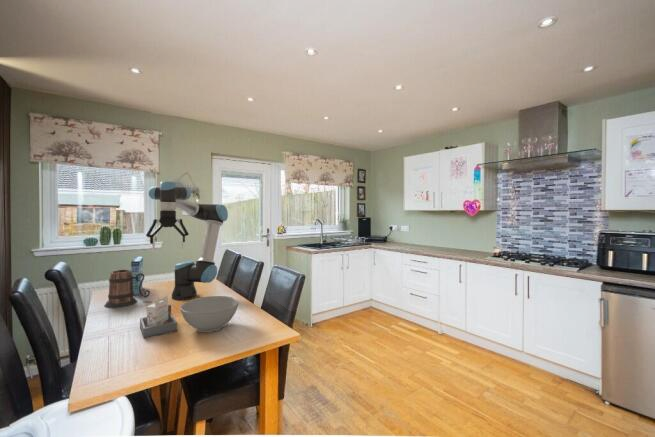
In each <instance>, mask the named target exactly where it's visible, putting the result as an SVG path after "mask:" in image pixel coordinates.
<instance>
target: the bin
mask: <svg viewBox="0 0 655 437" xmlns="http://www.w3.org/2000/svg"><path fill="white" fill-rule="evenodd" d="M139 328H140V332H141V334H142V337H143V339H147V338H148V339H149V338H152V337H157V336H162V335H166V334H167V335H168V334H171V332H172V333H175V331H176V332H177V331H178V321H177V320H176V318H175V316H173V314H172V312H171V313H168V323H167V324H162V325H157V326H152V327H147V316H146V317H140V318H139Z"/></svg>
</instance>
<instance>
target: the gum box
mask: <svg viewBox="0 0 655 437" xmlns="http://www.w3.org/2000/svg"><path fill="white" fill-rule="evenodd" d="M143 257H144V256H135V257H134V258H133V259H132V261H131V265H130V270H131V273H132V276H133V277H136V275H137V274H139V273H142V274H144V272H143V271H144V270H143V269H144V268H143V267H144V264H143V262H144V258H143ZM138 279H139V281H137V280H136V279H133V291H134V295H133V296H137V295H140V293H139V284H140V282H141V280H142V279H143V276H142V275H139V278H138ZM143 284H144V283H143V282H142V284H141V290H143Z"/></svg>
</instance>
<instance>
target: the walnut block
mask: <svg viewBox="0 0 655 437" xmlns="http://www.w3.org/2000/svg"><path fill="white" fill-rule="evenodd" d="M168 313H171V314H172V304H170V303H168Z"/></svg>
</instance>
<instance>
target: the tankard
mask: <svg viewBox="0 0 655 437" xmlns="http://www.w3.org/2000/svg"><path fill="white" fill-rule="evenodd" d="M139 275H142V276H143V279H142V280H141V282H140V284H139V295H140V297H142V298H148V297H149V296H150V294H151V291H150V289H149V290H148V289H146V290H144V291H143V292H144V294H143V293H142V289H141V284H142V282H143V281H144V280H145V274H144V273H143V274H142V273H139V274H137V275H136V277H133V276H132V273H131V269H118V270H113V271H111V272H110V276H109V277H108V282H109V283H108V284H109V286H108V295H107V298H108V299H107V301H106V302H105V304H104V305H103V307H104V308H106V309H119V308H127V307H130V306H133V305H136V304H137V303H138V300H137V299H136V298H135V297H134V296H135V295H134V291H133V279H136V280H137V281H139V279H138V278H139Z"/></svg>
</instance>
